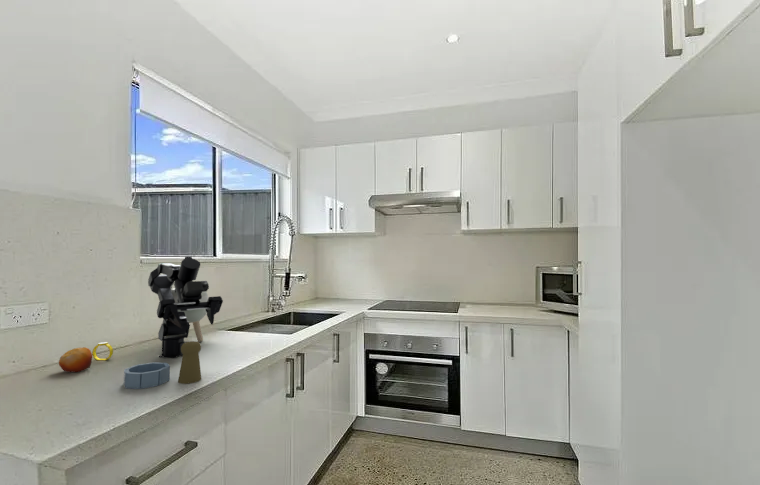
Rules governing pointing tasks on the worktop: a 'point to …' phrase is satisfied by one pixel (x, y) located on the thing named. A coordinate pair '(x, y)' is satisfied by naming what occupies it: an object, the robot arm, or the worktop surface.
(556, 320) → the worktop surface
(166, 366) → the bowl
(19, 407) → the worktop surface
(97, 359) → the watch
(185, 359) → the cork
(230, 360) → the worktop surface
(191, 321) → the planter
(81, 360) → the fruit
